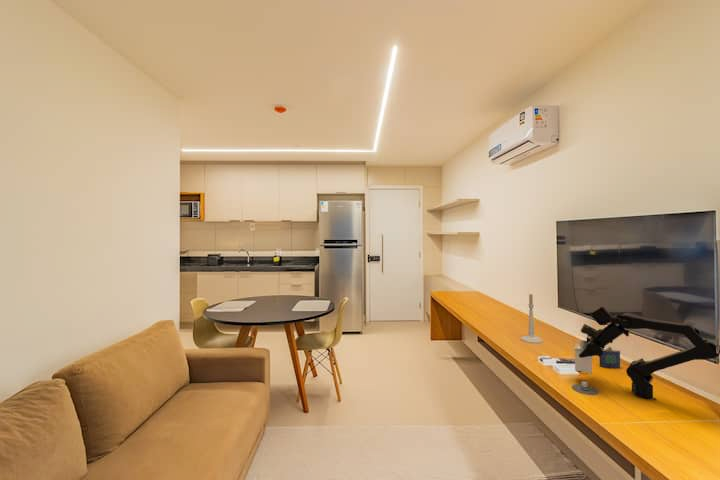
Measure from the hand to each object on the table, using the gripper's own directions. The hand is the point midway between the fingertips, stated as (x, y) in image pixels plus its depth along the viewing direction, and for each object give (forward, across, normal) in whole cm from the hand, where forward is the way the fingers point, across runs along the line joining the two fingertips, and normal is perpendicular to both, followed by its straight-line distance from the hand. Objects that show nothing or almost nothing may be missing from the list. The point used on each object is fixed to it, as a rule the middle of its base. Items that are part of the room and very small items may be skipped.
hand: (579, 354), depth 158 cm
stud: (+7, +9, +10) cm, 15 cm away
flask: (+1, -29, +18) cm, 34 cm away
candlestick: (+29, -56, -10) cm, 64 cm away
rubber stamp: (+4, 0, +6) cm, 7 cm away
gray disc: (+8, +9, +11) cm, 16 cm away
